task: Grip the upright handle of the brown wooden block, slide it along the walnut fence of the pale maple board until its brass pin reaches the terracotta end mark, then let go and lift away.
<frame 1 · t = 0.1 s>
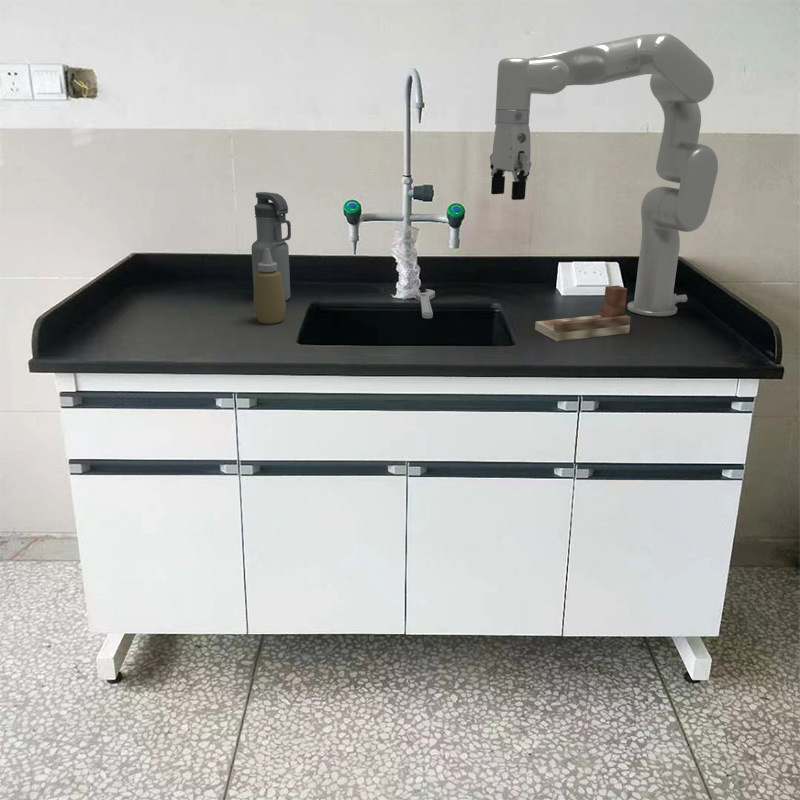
hand: (507, 196, 189), 31 cm above the counter, tool pointing down, fingers open, 9 cm apart
adjustable wrench: (422, 307, 218), on the counter
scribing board: (581, 331, 197), on the counter
squeeze bottle: (270, 321, 203), on the counter
water bottle: (273, 299, 222), on the counter
brown wooden block: (611, 302, 198), point 6 cm above the counter, slide at 0.0 cm
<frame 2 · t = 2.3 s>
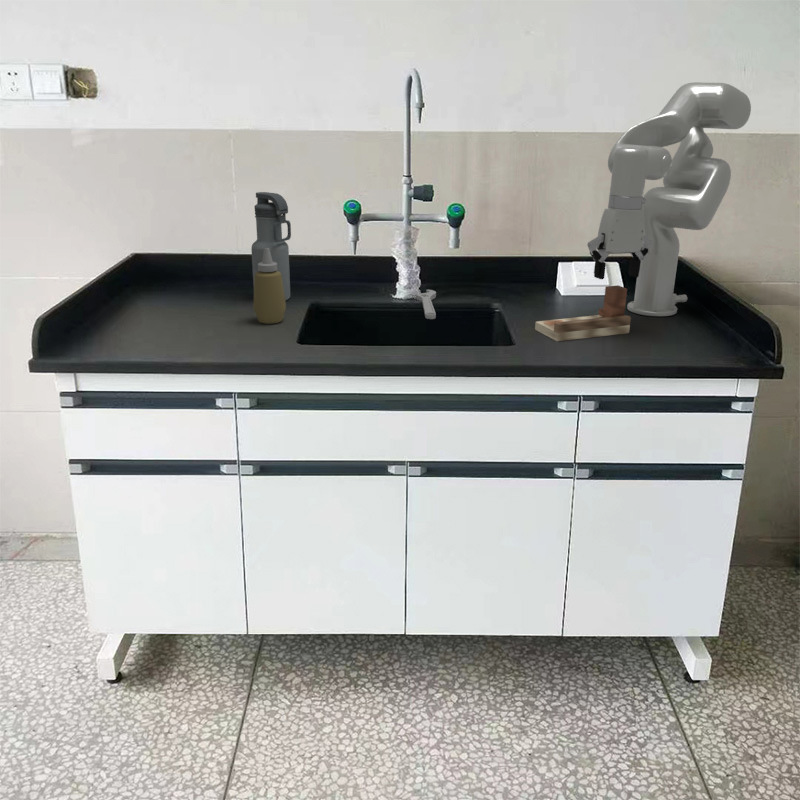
hand: (616, 277, 194), 13 cm above the counter, tool pointing down, fingers open, 9 cm apart
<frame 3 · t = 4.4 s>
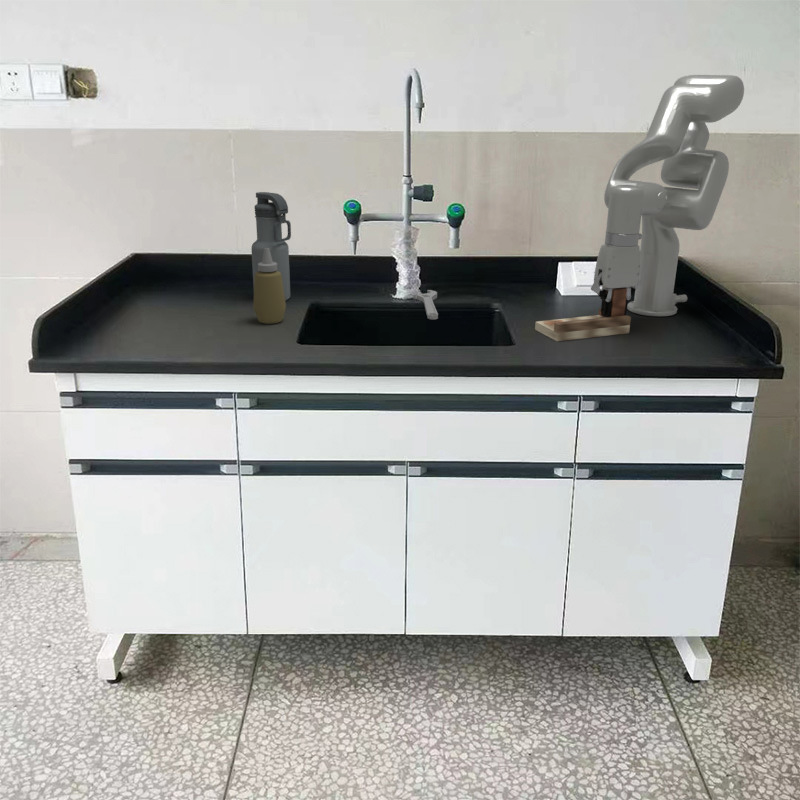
hand: (613, 314, 198), 4 cm above the counter, tool pointing down, fingers closed on brown wooden block, 3 cm apart
brown wooden block: (611, 302, 198), point 6 cm above the counter, slide at 0.0 cm, touching gripper
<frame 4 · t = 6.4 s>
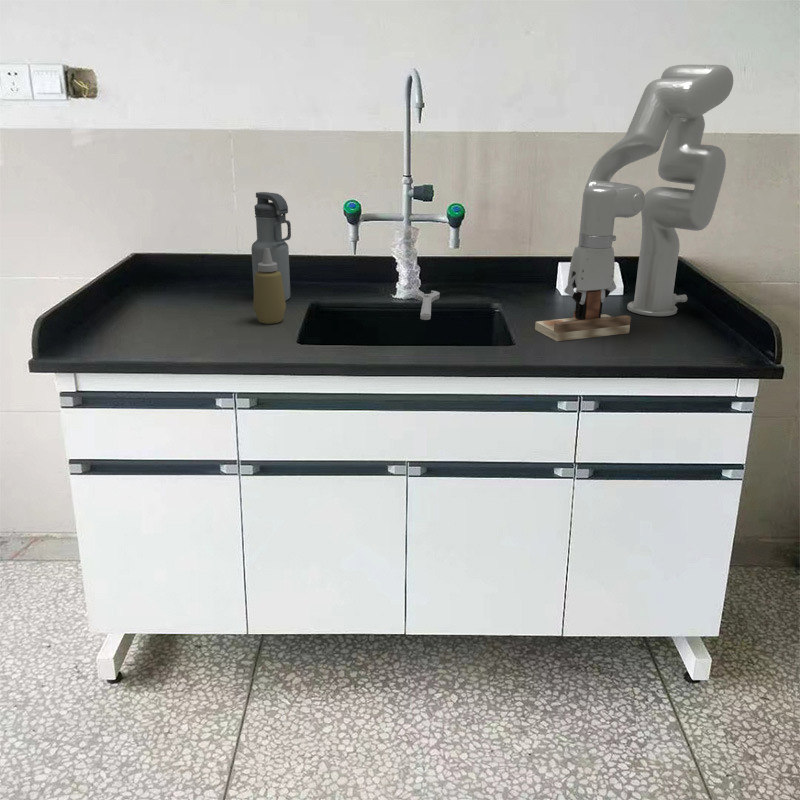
hand: (587, 317, 195), 4 cm above the counter, tool pointing down, fingers closed on brown wooden block, 3 cm apart
brown wooden block: (586, 305, 196), point 6 cm above the counter, slide at 7.2 cm, touching gripper
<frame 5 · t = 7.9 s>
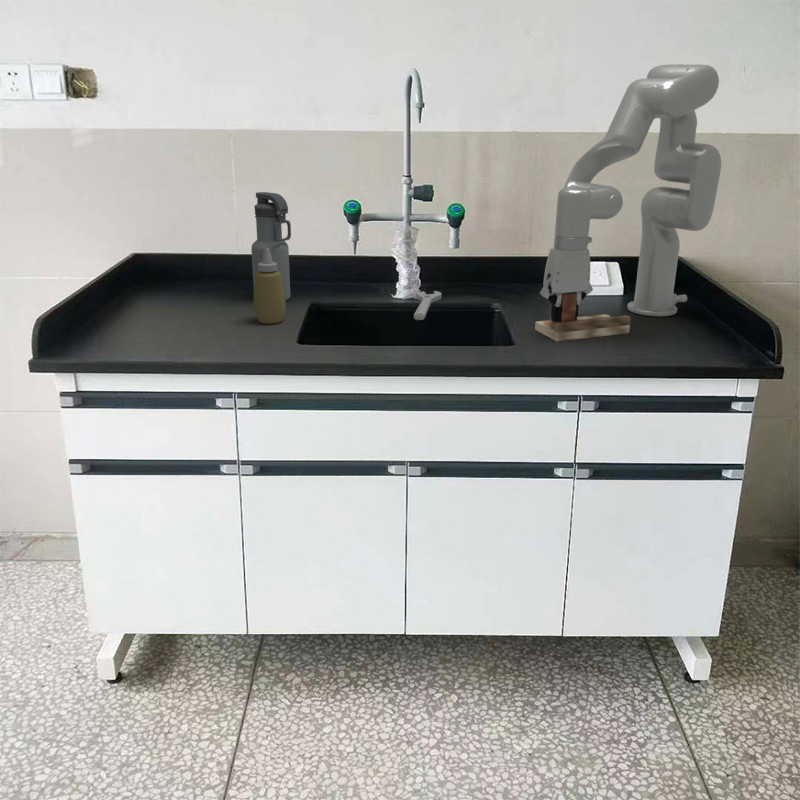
hand: (564, 320, 193), 4 cm above the counter, tool pointing down, fingers closed on brown wooden block, 3 cm apart
brown wooden block: (562, 307, 193), point 6 cm above the counter, slide at 13.8 cm, touching gripper
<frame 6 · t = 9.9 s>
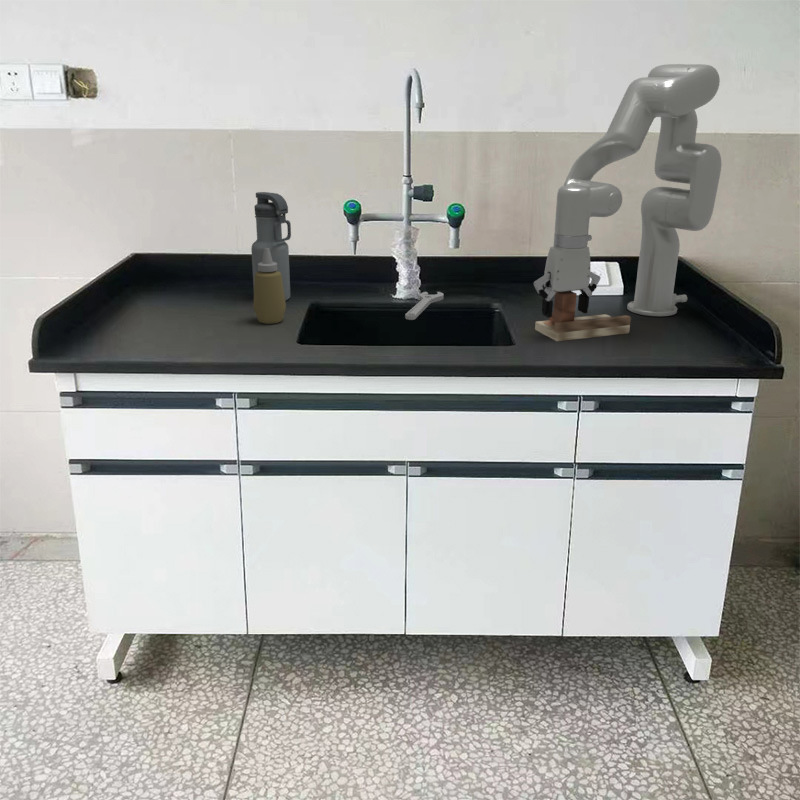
hand: (564, 313, 193), 5 cm above the counter, tool pointing down, fingers open, 9 cm apart
brown wooden block: (561, 307, 193), point 6 cm above the counter, slide at 14.0 cm
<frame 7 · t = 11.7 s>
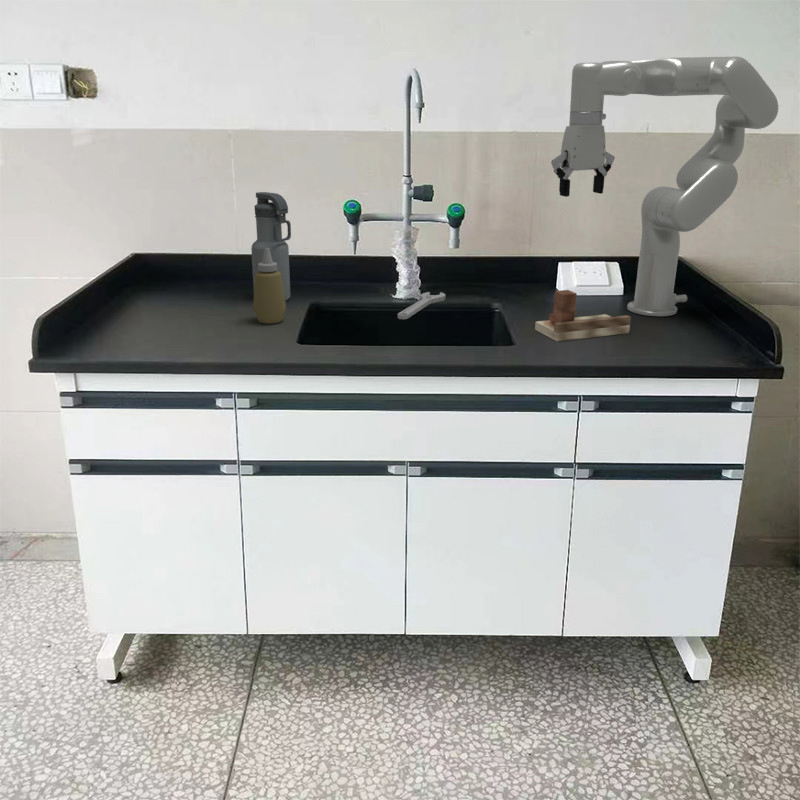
hand: (581, 194, 198), 31 cm above the counter, tool pointing down, fingers open, 9 cm apart
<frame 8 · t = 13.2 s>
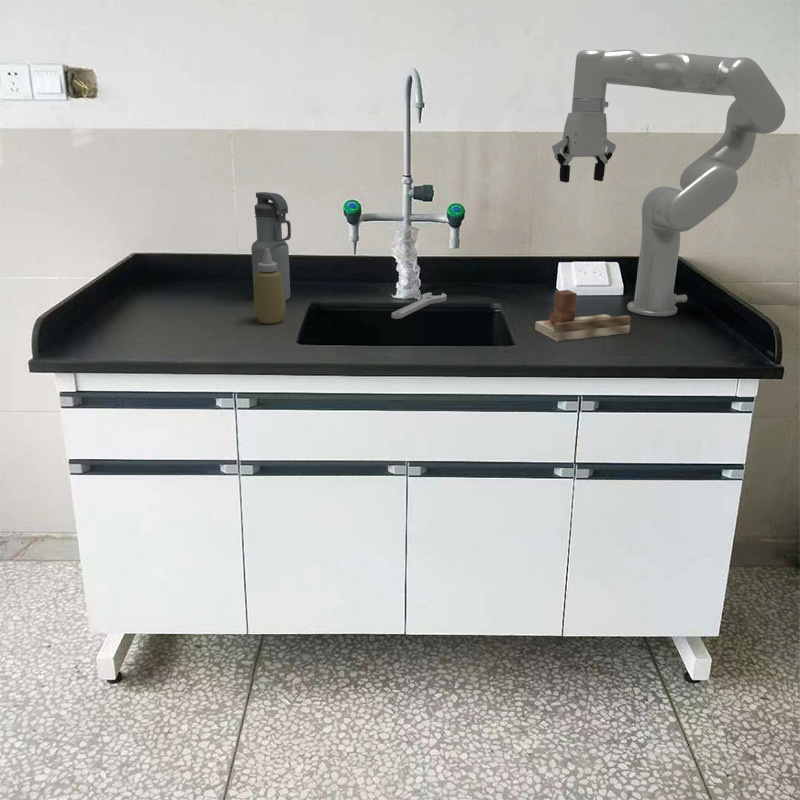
hand: (581, 181, 200), 33 cm above the counter, tool pointing down, fingers open, 9 cm apart
at the end: brown wooden block slide at 14.0 cm; the gripper is holding nothing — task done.
